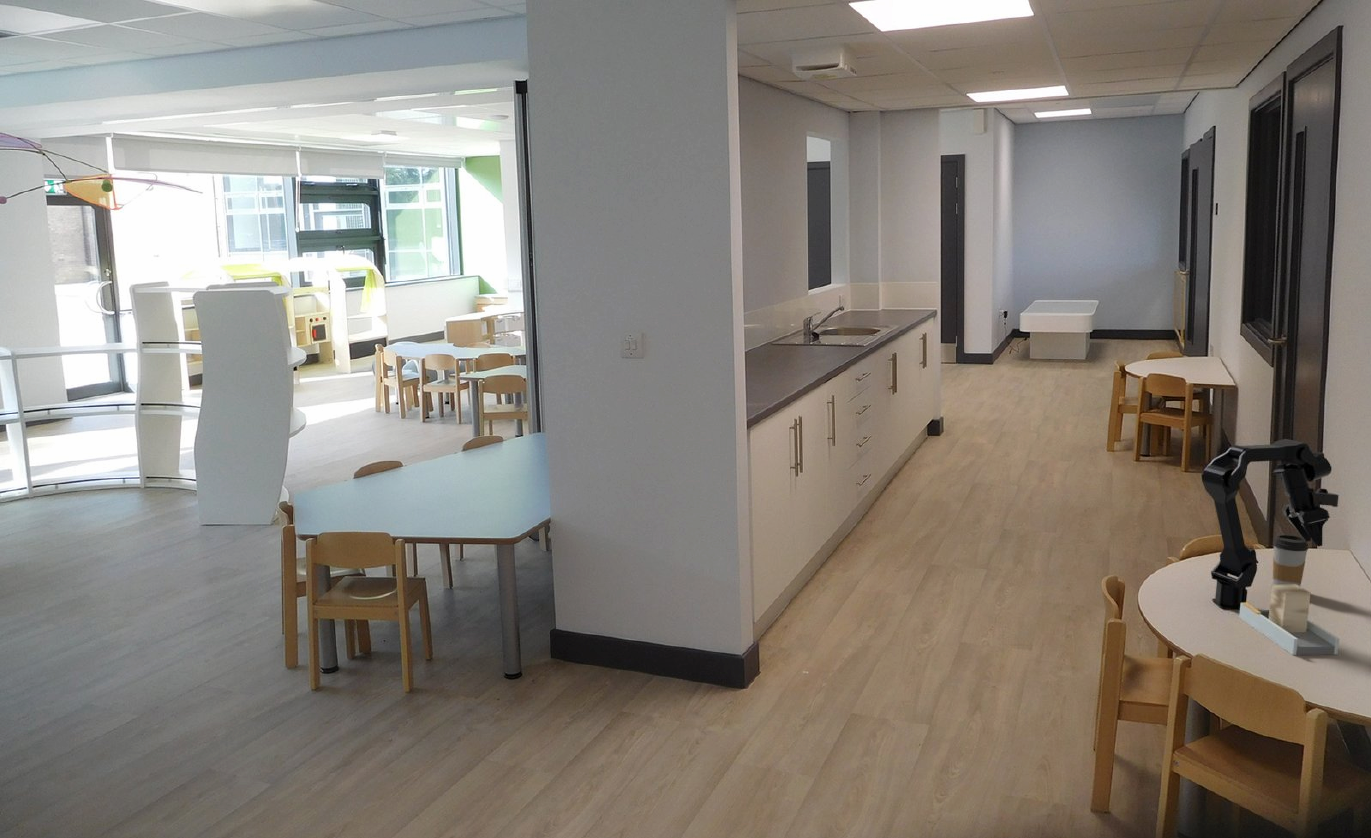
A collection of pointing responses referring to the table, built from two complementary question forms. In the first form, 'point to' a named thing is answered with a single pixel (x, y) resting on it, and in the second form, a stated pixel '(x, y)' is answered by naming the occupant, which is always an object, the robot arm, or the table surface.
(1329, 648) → the channel
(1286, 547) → the coffee cup
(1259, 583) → the table surface
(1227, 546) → the robot arm
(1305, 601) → the beech block
